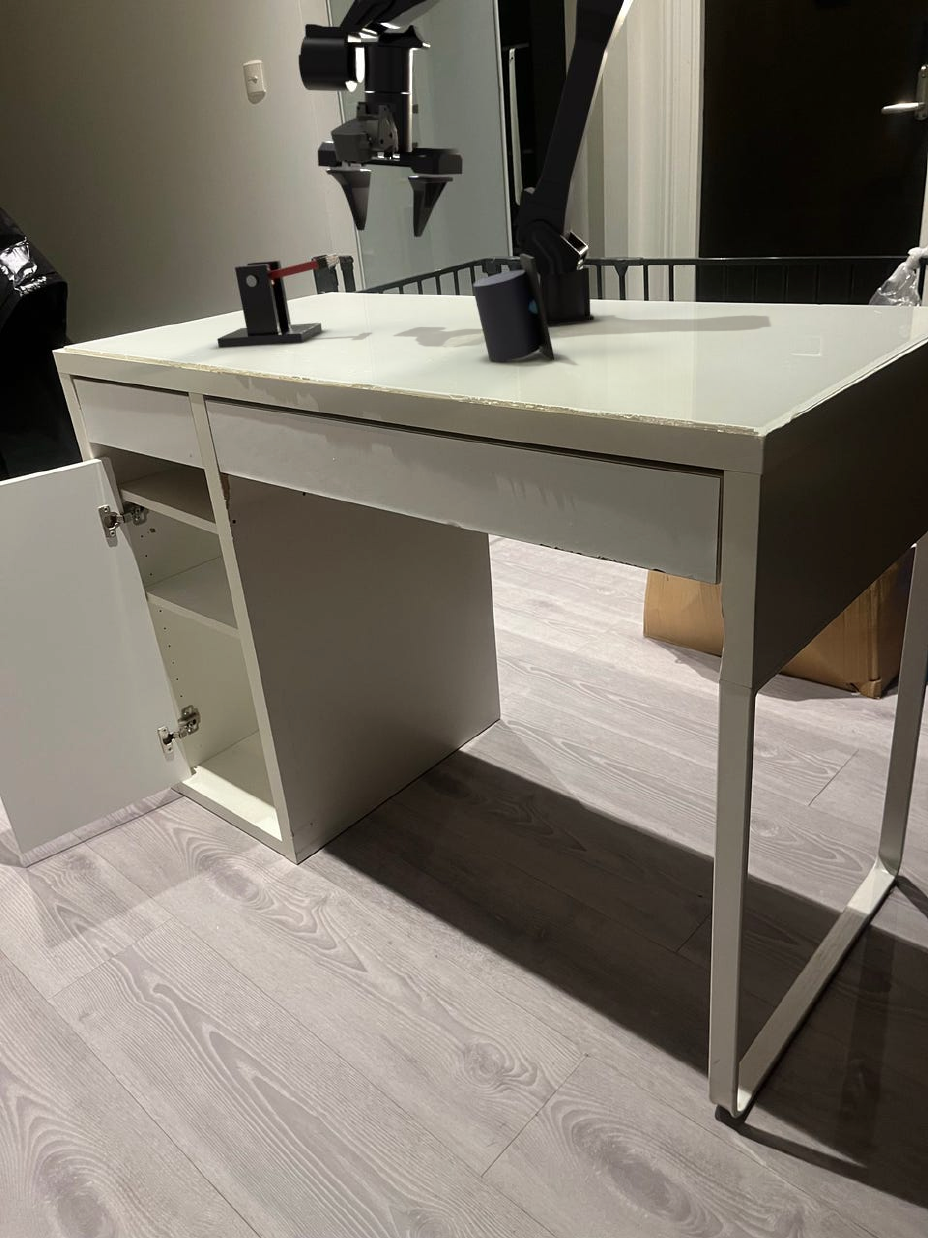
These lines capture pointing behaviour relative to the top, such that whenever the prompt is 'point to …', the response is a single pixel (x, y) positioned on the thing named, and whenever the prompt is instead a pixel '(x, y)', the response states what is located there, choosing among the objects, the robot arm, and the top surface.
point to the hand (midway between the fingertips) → (388, 233)
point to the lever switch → (265, 310)
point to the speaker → (513, 313)
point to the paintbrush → (306, 266)
